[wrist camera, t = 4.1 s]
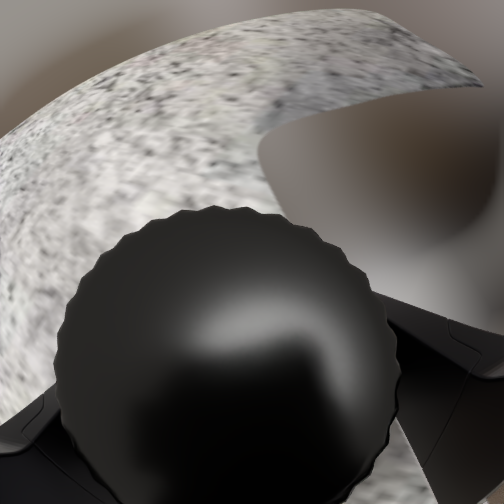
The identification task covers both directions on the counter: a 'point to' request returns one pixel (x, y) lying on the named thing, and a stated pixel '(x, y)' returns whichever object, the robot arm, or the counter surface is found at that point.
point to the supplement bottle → (226, 364)
